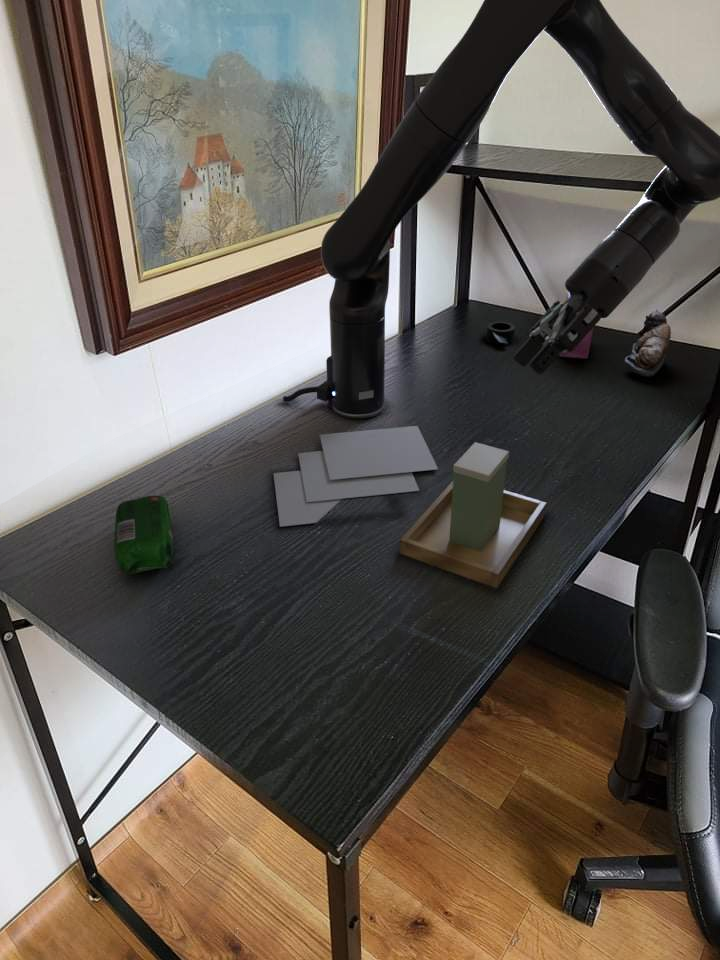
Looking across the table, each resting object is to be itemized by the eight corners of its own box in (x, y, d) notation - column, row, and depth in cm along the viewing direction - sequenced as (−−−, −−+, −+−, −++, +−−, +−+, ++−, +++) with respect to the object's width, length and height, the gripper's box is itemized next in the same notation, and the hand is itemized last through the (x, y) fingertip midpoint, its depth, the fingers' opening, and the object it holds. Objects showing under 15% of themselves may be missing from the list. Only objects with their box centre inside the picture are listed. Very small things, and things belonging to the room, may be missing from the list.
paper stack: (454, 508, 104) (455, 504, 104) (279, 526, 101) (279, 522, 100) (417, 429, 123) (417, 425, 123) (269, 442, 120) (269, 439, 120)
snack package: (119, 594, 90) (111, 562, 87) (120, 521, 102) (113, 490, 99) (178, 584, 91) (172, 552, 88) (171, 513, 104) (166, 483, 101)
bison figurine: (658, 384, 137) (670, 333, 131) (619, 377, 140) (630, 327, 134) (665, 360, 146) (677, 311, 140) (629, 354, 149) (639, 306, 143)
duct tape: (526, 335, 157) (528, 323, 156) (505, 351, 151) (507, 337, 149) (494, 328, 161) (495, 315, 160) (472, 342, 154) (473, 329, 153)
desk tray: (399, 554, 96) (399, 539, 94) (456, 489, 108) (457, 475, 107) (496, 590, 90) (498, 574, 88) (544, 517, 102) (546, 502, 101)
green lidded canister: (447, 541, 97) (453, 465, 91) (468, 515, 102) (474, 441, 96) (481, 552, 95) (489, 475, 89) (500, 526, 100) (509, 451, 93)
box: (588, 359, 147) (598, 302, 140) (559, 357, 148) (568, 300, 141) (585, 339, 155) (595, 285, 149) (558, 337, 156) (566, 283, 150)
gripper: (572, 256, 104) (494, 343, 107) (609, 254, 91) (519, 353, 94) (607, 292, 106) (530, 376, 109) (650, 294, 92) (560, 391, 95)
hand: (525, 366), depth 101 cm, fingers open, 8 cm apart
